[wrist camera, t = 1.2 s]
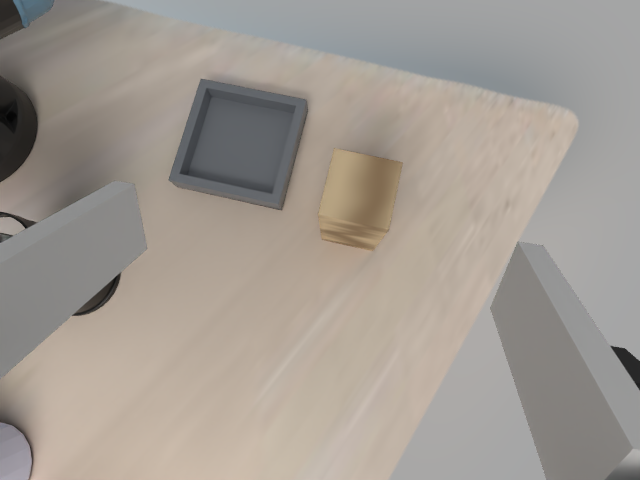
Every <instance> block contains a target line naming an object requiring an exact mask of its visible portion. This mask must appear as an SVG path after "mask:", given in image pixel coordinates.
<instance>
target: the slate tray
mask: <svg viewBox="0 0 640 480" xmlns="http://www.w3.org/2000/svg"><path fill="white" fill-rule="evenodd" d="M307 112H308V109H307V101H306V100H305V99H300V98H295V97H290V96H285V95H280V94H275V93H270V92H265V91H260V90H255V89H250V88H245V87H240V86H235V85H230V84H225V83H220V82H215V81H210V80H205V79H201V80H200V83H199V86H198V89H197V92H196V96H195V99H194V102H193V105H192V108H191V111H190V114H189V117H188V121H187V124H186V127H185V130H184V133H183V136H182V139H181V142H180V146H179V149H178V152H177V155H176V158H175V161H174V164H173V167H172V171H171V174H170V177H169V181H170V182H172V183H173V184H174V185H176V186H177V187H180V188H184V189H189V190H193V191H198V192H202V193H207V194H211V195H216V196H220V197H225V198H229V199H234V200H238V201H243V202H247V203H252V204H256V205H260V206H265V207H269V208H274V209H278V210H282V207H283V204H284V200H285V196H286V192H287V188H288V185H289V181H290V177H291V173H292V169H293V165H294V162H295V158H296V154H297V150H298V146H299V142H300V139H301V135H302V131H303V127H304V123H305V119H306V116H307Z"/></svg>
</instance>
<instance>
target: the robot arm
mask: <svg viewBox="0 0 640 480" xmlns="http://www.w3.org/2000/svg"><path fill="white" fill-rule="evenodd" d="M53 3H54V0H0V39H2V38H4V37H6V36H8V35H10V34H12V33H14V32H16V31H18V30H20V29H22V28H27V27H28V26H29V23H30V22H32V21H34V20H35V19H37V18H38V17H40V16H42V15H43V14H45V13H46V12H48V11H49V10H50V9H51V8H52V6H53ZM36 127H37V122H36V114H35V110H34V108H33V105H32V103H31V101H30V100H29V98H28V97H27V96H26V94H25V93H24V92H23V91H22V90H20V89H19V88H18V87H16V86H15V85H13V84H12V83H11V82H9V81H8V80H6V79H5V78H3V77H1V76H0V182H1V181H2V180H4V179H5V178H7V177H8V176H10V175H11V174H12V173H13V172H14V171H15V170H16V169H17V168H18V167H19V166H20V165H21V164H22V163H23V161H24V160H25V158H26V157H27V155H28V154H29V152H30V150H31V148H32V145H33V142H34V139H35V135H36ZM146 249H147V244H146V239H145V234H144V229H143V224H142V219H141V214H140V209H139V205H138V200H137V195H136V190H135V185H134V184H133V183H127V182H120V181H113V182H111V183H110V184H108V185H106V186H104V187H102V188H100V189H99V190H97V191H95V192H93V193H91V194H89V195H88V196H86V197H84V198H82V199H80V200H78V201H77V202H75V203H73V204H71V205H69V206H67V207H66V208H64V209H62V210H60V211H58V212H56V213H54V214H53V215H51V216H49V217H47V218H45V219H43V220H42V221H40V222H38V223H36V224H34V225H32V226H31V227H29V228H27V229H25V230H23V231H21V232H20V233H18V234H16V235H14V236H12V237H10V238H9V239H7V240H5V241H3V242H1V243H0V379H1V378H2V377H3V376H4V375H5V374H6V373H8V372H9V371H10V370H11V369H12V368H13V367H14V366H16V365H17V364H18V363H19V362H20V361H21V360H22V359H23V358H25V357H26V356H27V355H28V354H29V353H30V352H31V351H32V350H34V349H35V348H36V347H37V346H38V345H39V344H40V343H41V342H43V341H44V340H45V339H46V338H47V337H48V336H49V335H50V334H52V333H53V332H54V331H55V330H56V329H57V328H58V327H59V326H61V325H62V324H63V323H64V322H65V321H66V320H67V319H68V318H70V317H71V316H72V315H73V314H74V313H75V312H76V311H78V310H79V309H80V308H81V307H82V306H83V305H84V304H85V303H87V302H88V301H89V300H90V299H91V298H92V297H93V296H94V295H96V294H97V293H98V292H99V291H100V290H101V289H102V288H103V287H105V286H106V285H107V284H108V283H109V282H110V281H111V280H112V279H114V278H115V277H116V276H117V275H118V274H119V273H120V272H121V271H123V270H124V269H125V268H126V267H127V266H128V265H129V264H130V263H132V262H133V261H134V260H135V259H136V258H137V257H138V256H140V255H141V254H142V253H143V252H144V251H145V250H146ZM490 309H491V312H492V315H493V318H494V321H495V324H496V327H497V330H498V333H499V336H500V339H501V342H502V345H503V349H504V351H505V355H506V357H507V361H508V364H509V367H510V370H511V373H512V376H513V379H514V382H515V385H516V388H517V391H518V394H519V397H520V400H521V403H522V406H523V409H524V413H525V415H526V418H527V422H528V425H529V427H530V431H531V434H532V437H533V440H534V443H535V446H536V449H537V452H538V455H539V458H540V461H541V464H542V467H543V470H544V473H545V477H546V480H640V361H639V360H638V359H636V358H635V357H634V356H633V355H632V354H631V353H630V352H628V351H627V350H626V349H625V348H619V347H613V346H610V345H609V344H608V342H607V341H606V339H605V338H604V336H603V334H602V333H601V331H600V330H599V328H598V327H597V326H596V324H595V322H594V321H593V319H592V318H591V317H590V315H589V313H588V312H587V310H586V309H585V307H584V306H583V305H582V303H581V301H580V300H579V298H578V297H577V295H576V294H575V292H574V291H573V289H572V288H571V286H570V285H569V283H568V282H567V280H566V279H565V277H564V276H563V274H562V273H561V271H560V270H559V268H558V267H557V265H556V264H555V262H554V261H553V259H552V258H551V256H550V255H549V253H548V252H547V250H546V249H545V247H544V246H543V245H537V244H530V243H524V242H517V245H516V247H515V250H514V252H513V254H512V257H511V259H510V262H509V264H508V266H507V269H506V271H505V274H504V276H503V278H502V281H501V283H500V286H499V288H498V290H497V293H496V295H495V298H494V300H493V302H492V305H491V307H490Z"/></svg>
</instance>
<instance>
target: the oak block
mask: <svg viewBox="0 0 640 480" xmlns="http://www.w3.org/2000/svg"><path fill="white" fill-rule="evenodd" d="M402 164H403V162H398V161H394V160H389V159H384V158H379V157H374V156H370V155H365V154H360V153H355V152H350V151H345V150H341V149H336V148H334V150H333V154H332V159H331V163H330V167H329V171H328V175H327V179H326V183H325V187H324V191H323V195H322V200H321V204H320V208H319V212H318V217H319V224H320V230H321V237H322V240H326V241H330V242H335V243H339V244H343V245H348V246H352V247H357V248H361V249H365V250H370V251H373V250H374V249H375V248H376V246H377V245H378V244H379V242H380V241H381V240H382V238H383V237H384V236H385V234H386V233H387V232H388V230H389V227H390V222H391V217H392V212H393V207H394V203H395V198H396V193H397V188H398V183H399V179H400V174H401V169H402Z"/></svg>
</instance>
